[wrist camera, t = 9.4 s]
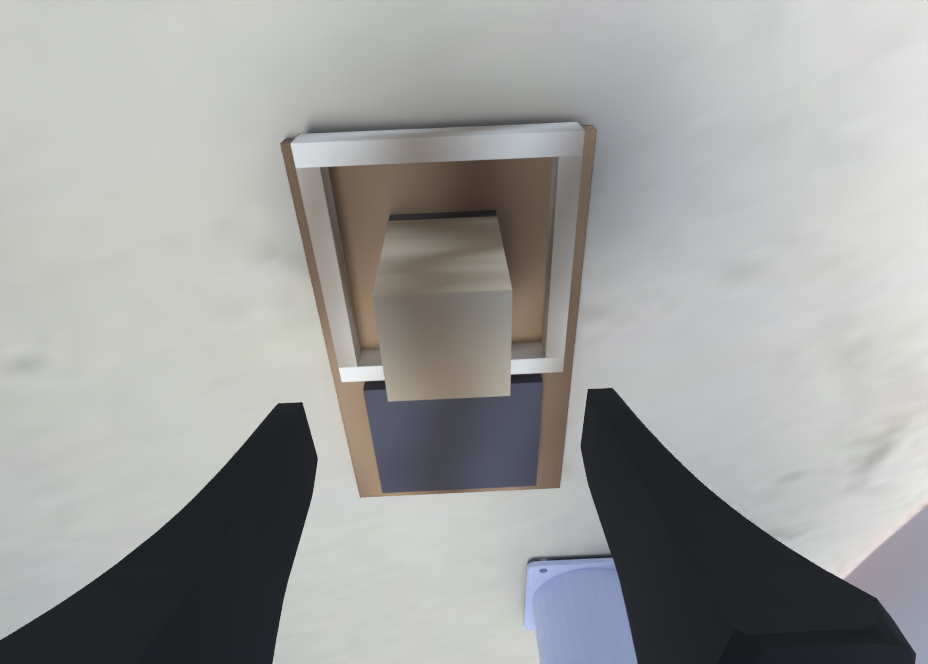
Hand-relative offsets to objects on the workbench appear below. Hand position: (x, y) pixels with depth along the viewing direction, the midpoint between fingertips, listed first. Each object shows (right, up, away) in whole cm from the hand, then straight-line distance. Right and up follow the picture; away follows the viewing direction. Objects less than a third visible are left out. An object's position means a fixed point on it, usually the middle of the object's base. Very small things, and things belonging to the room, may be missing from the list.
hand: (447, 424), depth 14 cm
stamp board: (0, +2, +11) cm, 11 cm away
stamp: (0, +5, +8) cm, 9 cm away
